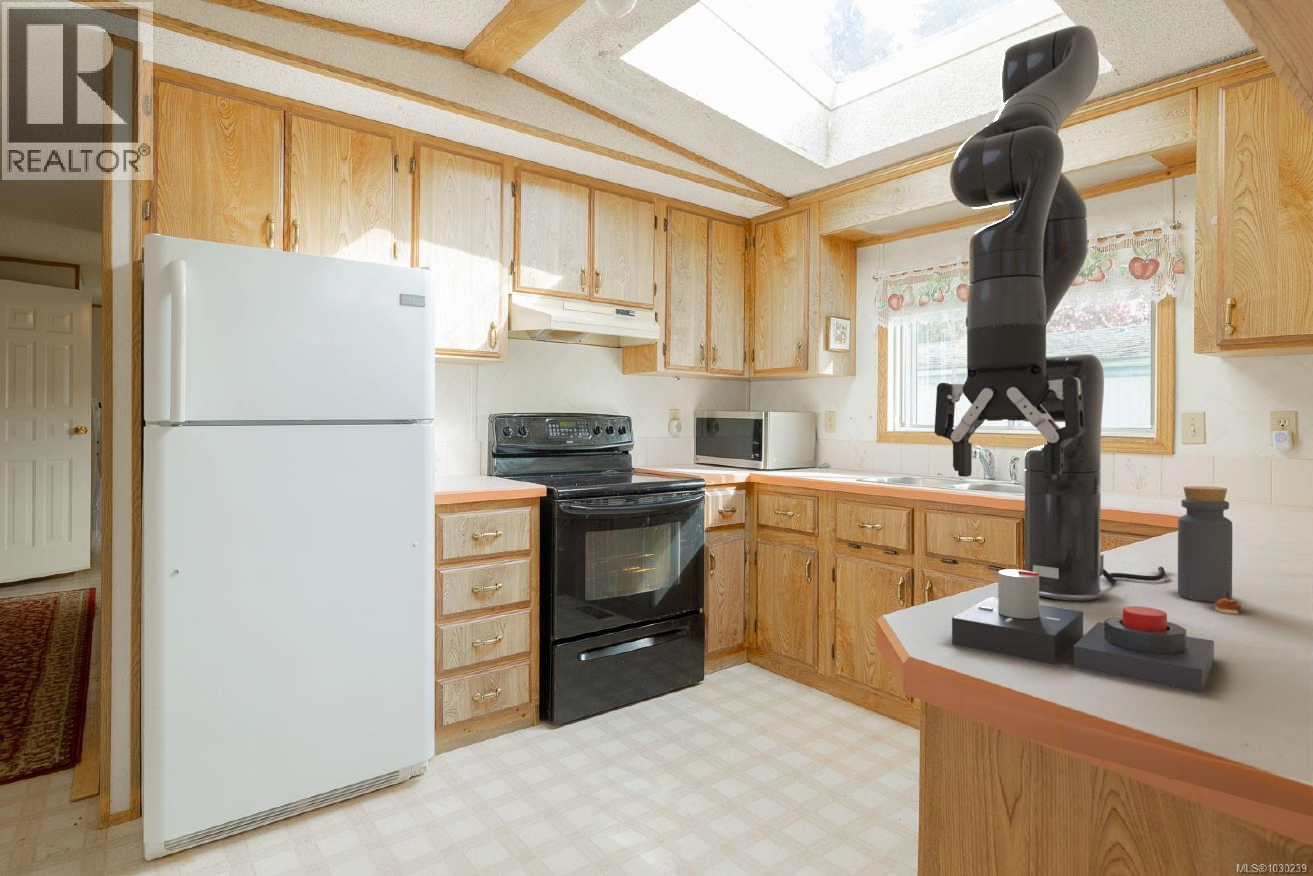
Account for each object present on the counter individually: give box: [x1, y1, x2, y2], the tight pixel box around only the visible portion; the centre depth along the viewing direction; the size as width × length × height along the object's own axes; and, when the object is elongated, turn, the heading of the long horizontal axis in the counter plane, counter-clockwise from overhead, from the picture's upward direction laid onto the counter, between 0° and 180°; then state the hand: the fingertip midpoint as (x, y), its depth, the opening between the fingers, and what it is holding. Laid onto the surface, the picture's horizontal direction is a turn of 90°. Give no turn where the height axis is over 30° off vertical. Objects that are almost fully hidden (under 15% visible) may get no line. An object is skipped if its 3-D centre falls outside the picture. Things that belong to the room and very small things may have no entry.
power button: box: [1122, 605, 1168, 631], centre depth 70 cm, size 4×4×2 cm
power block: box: [1072, 615, 1215, 693], centre depth 70 cm, size 11×10×4 cm
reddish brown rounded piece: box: [1214, 589, 1243, 614], centre depth 89 cm, size 3×3×3 cm
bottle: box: [1177, 485, 1233, 603], centre depth 96 cm, size 6×6×15 cm
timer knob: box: [997, 569, 1040, 619], centre depth 77 cm, size 4×4×5 cm
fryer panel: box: [951, 596, 1084, 666], centre depth 78 cm, size 12×10×3 cm
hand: (1005, 477), depth 75 cm, fingers open, 8 cm apart
